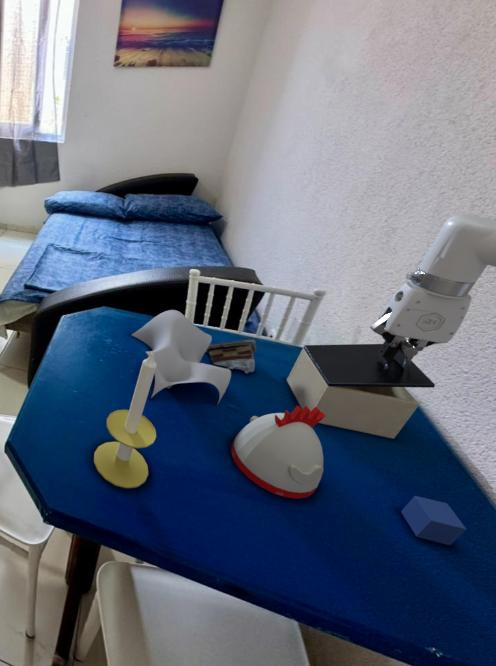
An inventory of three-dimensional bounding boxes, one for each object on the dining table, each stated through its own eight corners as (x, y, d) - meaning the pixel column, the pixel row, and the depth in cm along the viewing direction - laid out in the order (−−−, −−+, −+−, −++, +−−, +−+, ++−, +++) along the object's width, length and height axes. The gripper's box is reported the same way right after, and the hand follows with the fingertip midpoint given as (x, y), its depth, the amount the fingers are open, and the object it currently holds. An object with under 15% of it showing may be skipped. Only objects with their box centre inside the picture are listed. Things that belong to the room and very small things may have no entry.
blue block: (432, 519, 69) (447, 503, 67) (450, 545, 65) (467, 529, 63) (400, 511, 70) (414, 495, 68) (416, 537, 66) (431, 520, 64)
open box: (361, 394, 96) (382, 361, 91) (394, 438, 84) (419, 404, 80) (286, 379, 99) (302, 347, 95) (308, 420, 88) (327, 386, 83)
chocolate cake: (203, 368, 103) (254, 354, 95) (200, 346, 108) (248, 330, 100) (223, 387, 106) (274, 374, 99) (219, 364, 111) (267, 351, 103)
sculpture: (233, 407, 91) (248, 374, 86) (146, 397, 93) (156, 364, 88) (197, 341, 112) (207, 311, 108) (127, 334, 114) (134, 305, 110)
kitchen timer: (334, 499, 72) (376, 440, 65) (258, 498, 71) (292, 439, 64) (283, 435, 84) (313, 380, 77) (217, 435, 84) (242, 379, 76)
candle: (151, 454, 79) (189, 343, 66) (144, 497, 71) (186, 380, 58) (99, 435, 83) (126, 326, 70) (88, 474, 75) (115, 358, 62)
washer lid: (394, 346, 89) (399, 320, 86) (434, 387, 77) (442, 359, 75) (303, 347, 95) (306, 323, 92) (328, 386, 83) (332, 360, 81)
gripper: (400, 284, 74) (354, 364, 83) (512, 299, 70) (451, 381, 79) (378, 267, 80) (338, 343, 89) (479, 280, 76) (426, 357, 85)
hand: (391, 360), depth 84 cm, fingers closed on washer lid, 2 cm apart
